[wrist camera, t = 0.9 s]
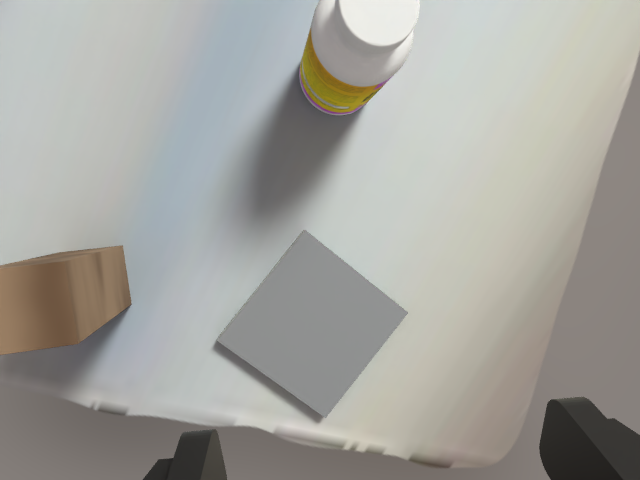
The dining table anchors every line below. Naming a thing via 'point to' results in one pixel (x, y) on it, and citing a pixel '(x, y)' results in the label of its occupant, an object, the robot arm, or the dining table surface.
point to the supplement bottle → (355, 51)
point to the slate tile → (312, 324)
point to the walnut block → (60, 298)
